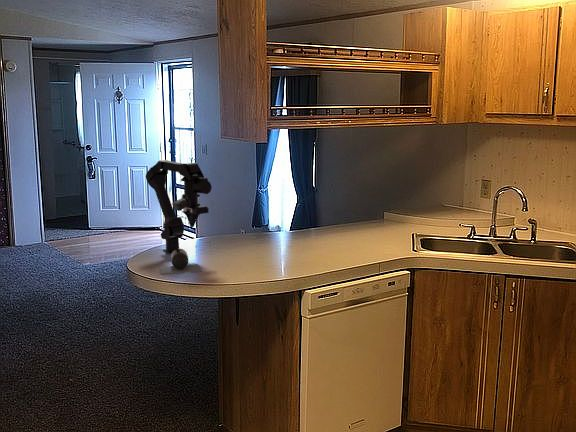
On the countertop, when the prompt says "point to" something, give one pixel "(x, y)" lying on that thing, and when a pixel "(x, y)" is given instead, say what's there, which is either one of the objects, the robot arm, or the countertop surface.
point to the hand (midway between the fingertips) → (191, 227)
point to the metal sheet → (174, 270)
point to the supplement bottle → (179, 258)
